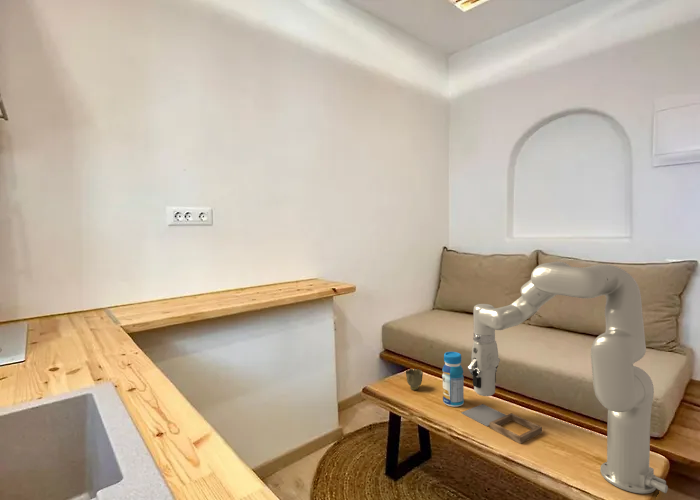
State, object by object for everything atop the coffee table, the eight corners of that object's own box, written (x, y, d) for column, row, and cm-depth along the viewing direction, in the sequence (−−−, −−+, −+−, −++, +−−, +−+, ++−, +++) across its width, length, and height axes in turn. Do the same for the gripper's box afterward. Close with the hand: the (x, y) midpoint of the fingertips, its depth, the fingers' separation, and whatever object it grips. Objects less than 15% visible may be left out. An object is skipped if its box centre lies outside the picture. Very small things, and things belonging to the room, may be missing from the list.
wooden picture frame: (542, 432, 132) (542, 427, 132) (520, 443, 126) (520, 437, 126) (511, 418, 142) (511, 413, 142) (489, 427, 136) (489, 422, 136)
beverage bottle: (460, 409, 150) (460, 358, 149) (439, 404, 155) (438, 355, 153) (466, 400, 157) (466, 352, 156) (446, 396, 162) (445, 349, 161)
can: (496, 397, 140) (496, 365, 139) (475, 396, 142) (474, 364, 141) (493, 389, 147) (493, 358, 147) (472, 388, 149) (472, 357, 148)
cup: (403, 386, 173) (403, 368, 173) (419, 384, 174) (419, 367, 174) (409, 393, 166) (409, 375, 165) (425, 391, 167) (425, 373, 167)
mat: (509, 417, 143) (509, 416, 143) (487, 426, 137) (487, 425, 137) (482, 404, 153) (482, 403, 153) (461, 413, 147) (461, 412, 147)
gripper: (476, 344, 136) (476, 393, 137) (508, 336, 144) (508, 382, 146) (459, 339, 142) (460, 386, 143) (491, 331, 151) (491, 375, 152)
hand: (484, 383), depth 144 cm, fingers closed on can, 7 cm apart
